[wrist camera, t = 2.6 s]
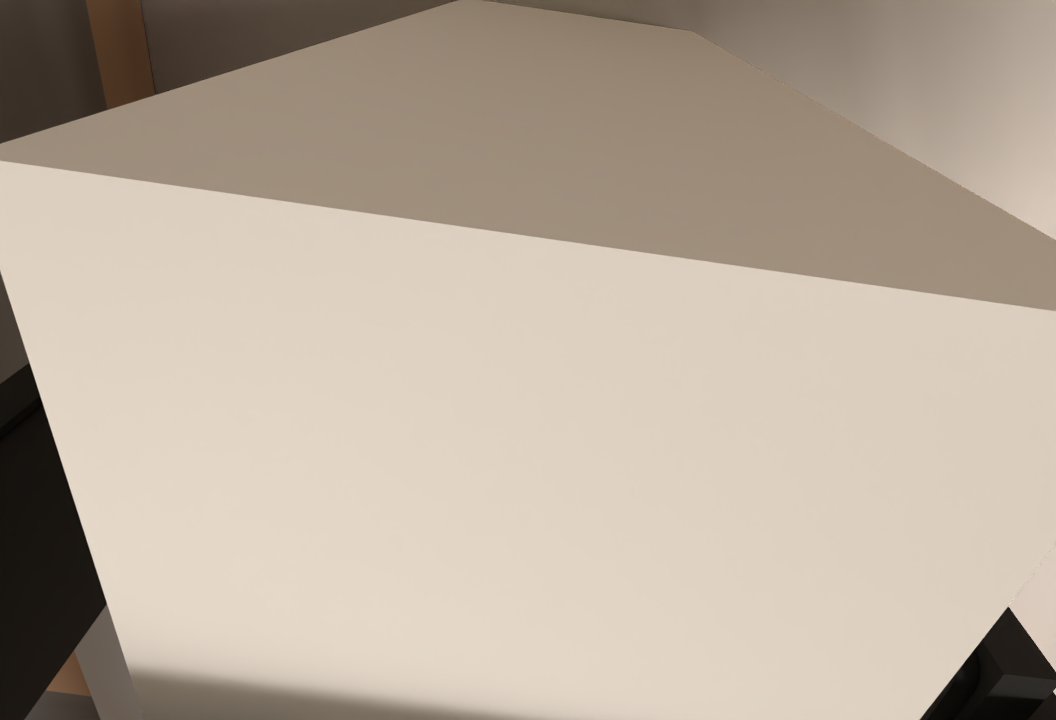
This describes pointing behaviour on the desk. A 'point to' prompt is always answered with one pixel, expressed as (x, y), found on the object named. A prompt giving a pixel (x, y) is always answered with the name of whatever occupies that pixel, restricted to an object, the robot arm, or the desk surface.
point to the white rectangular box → (531, 383)
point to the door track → (3, 115)
